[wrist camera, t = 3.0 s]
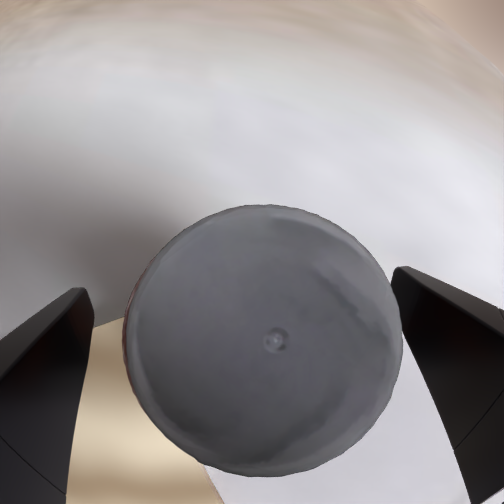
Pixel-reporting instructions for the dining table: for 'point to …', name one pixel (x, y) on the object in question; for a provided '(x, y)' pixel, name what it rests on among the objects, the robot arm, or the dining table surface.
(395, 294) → the robot arm
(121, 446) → the board
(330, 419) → the supplement bottle
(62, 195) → the dining table surface
